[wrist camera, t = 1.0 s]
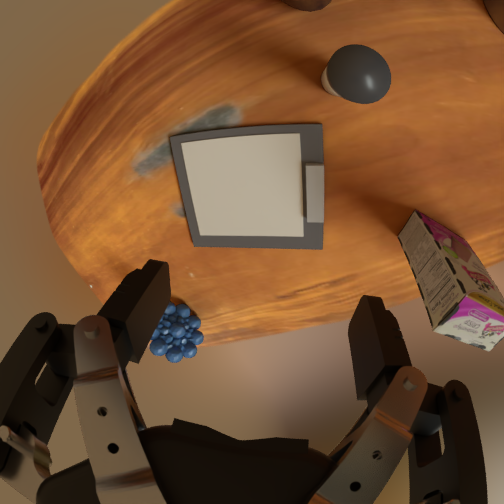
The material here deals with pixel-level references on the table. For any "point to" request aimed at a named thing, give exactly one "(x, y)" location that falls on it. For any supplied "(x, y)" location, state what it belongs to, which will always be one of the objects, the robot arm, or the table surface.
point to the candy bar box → (453, 283)
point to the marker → (357, 74)
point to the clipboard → (253, 186)
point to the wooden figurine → (307, 4)
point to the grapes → (176, 334)
